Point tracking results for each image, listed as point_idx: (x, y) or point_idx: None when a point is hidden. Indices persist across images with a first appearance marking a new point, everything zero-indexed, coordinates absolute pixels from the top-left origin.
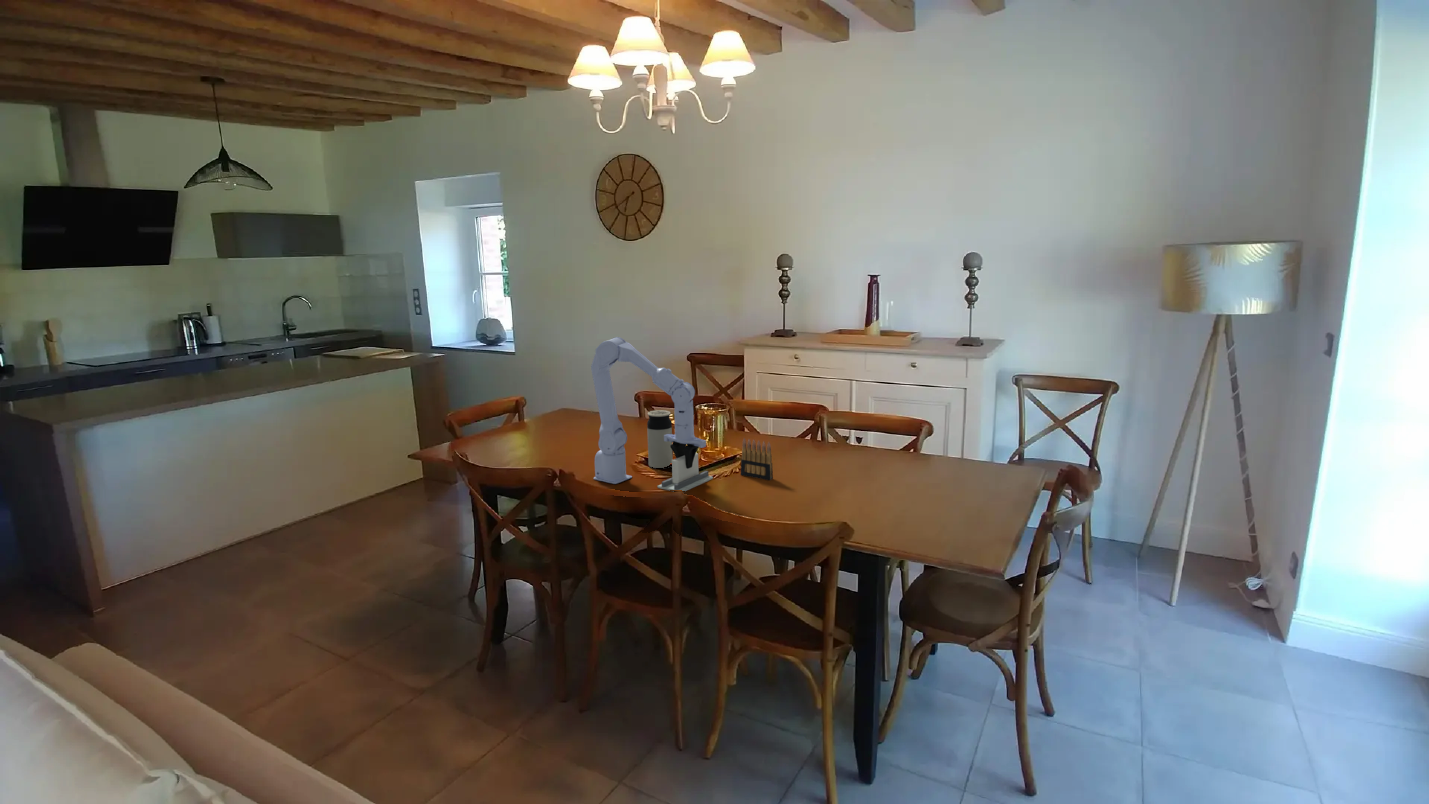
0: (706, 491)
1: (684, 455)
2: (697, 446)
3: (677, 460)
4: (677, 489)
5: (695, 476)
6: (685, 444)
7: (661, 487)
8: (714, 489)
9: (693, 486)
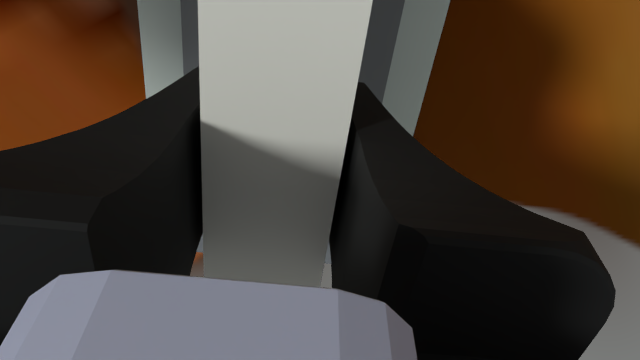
0: (557, 135)
1: (209, 143)
2: (581, 337)
3: None
4: None
5: (389, 7)
6: (125, 226)
7: None
8: (619, 67)
9: (418, 106)
